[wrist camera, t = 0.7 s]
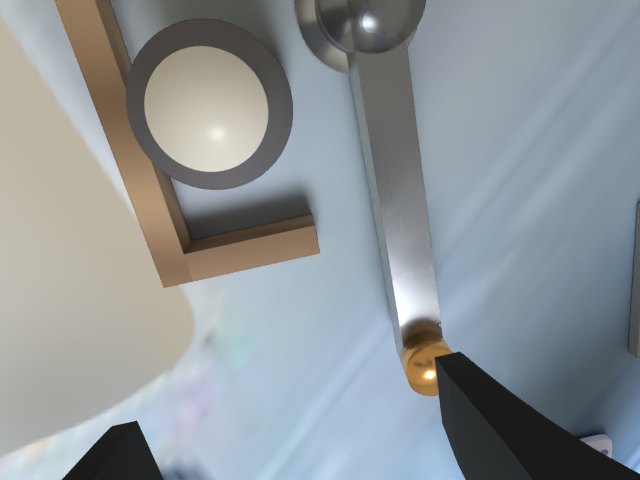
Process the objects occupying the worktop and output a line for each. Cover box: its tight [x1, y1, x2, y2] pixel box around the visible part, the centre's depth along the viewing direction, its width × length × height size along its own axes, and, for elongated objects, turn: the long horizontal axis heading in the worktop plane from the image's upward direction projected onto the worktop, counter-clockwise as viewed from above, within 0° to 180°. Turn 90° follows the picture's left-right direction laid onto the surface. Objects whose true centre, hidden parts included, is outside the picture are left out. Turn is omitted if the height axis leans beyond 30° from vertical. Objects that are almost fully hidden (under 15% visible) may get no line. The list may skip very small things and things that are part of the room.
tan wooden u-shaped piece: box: [54, 0, 320, 288], centre depth 16 cm, size 13×6×2 cm, turn 12°
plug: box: [126, 19, 293, 190], centre depth 13 cm, size 4×4×7 cm
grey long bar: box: [315, 0, 452, 396], centre depth 16 cm, size 16×3×3 cm, turn 12°
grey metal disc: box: [296, 0, 418, 74], centre depth 15 cm, size 4×4×1 cm
